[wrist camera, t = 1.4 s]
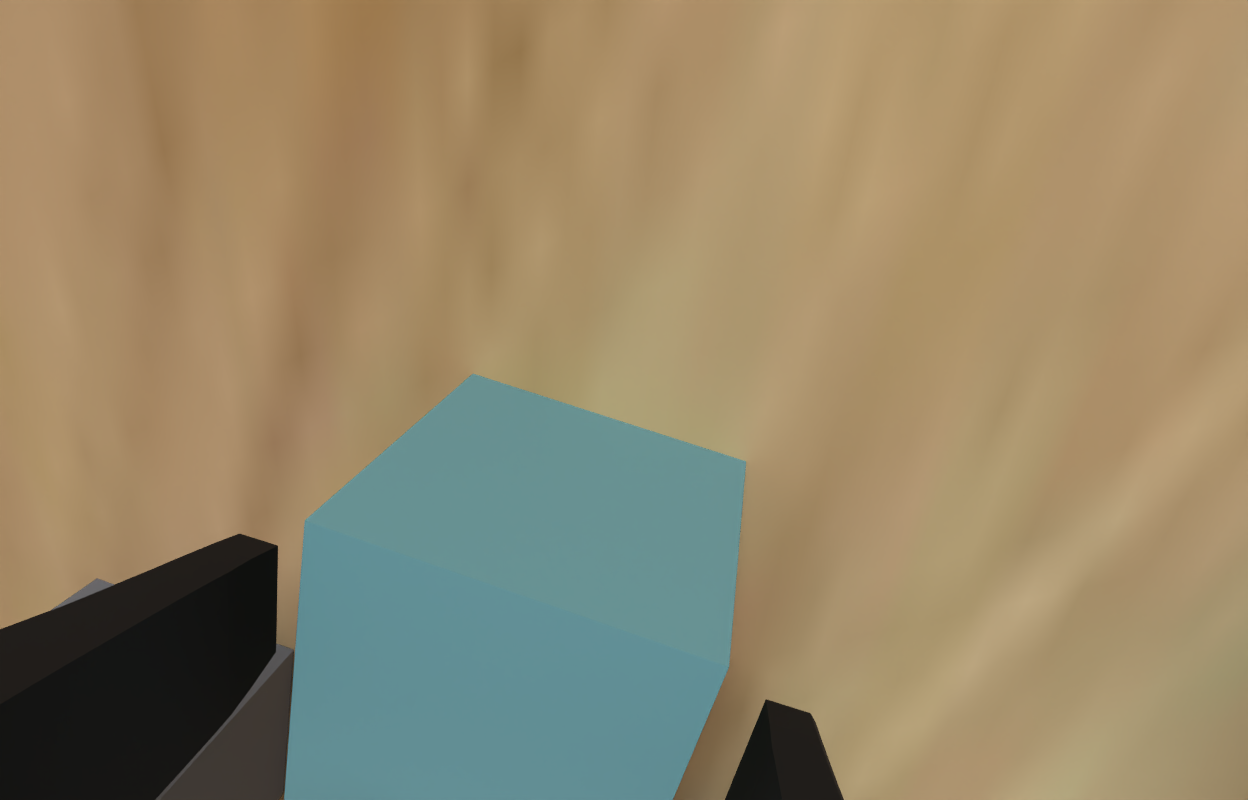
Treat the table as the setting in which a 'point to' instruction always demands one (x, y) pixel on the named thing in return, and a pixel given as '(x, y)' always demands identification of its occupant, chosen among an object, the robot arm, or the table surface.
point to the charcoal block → (238, 738)
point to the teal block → (514, 609)
